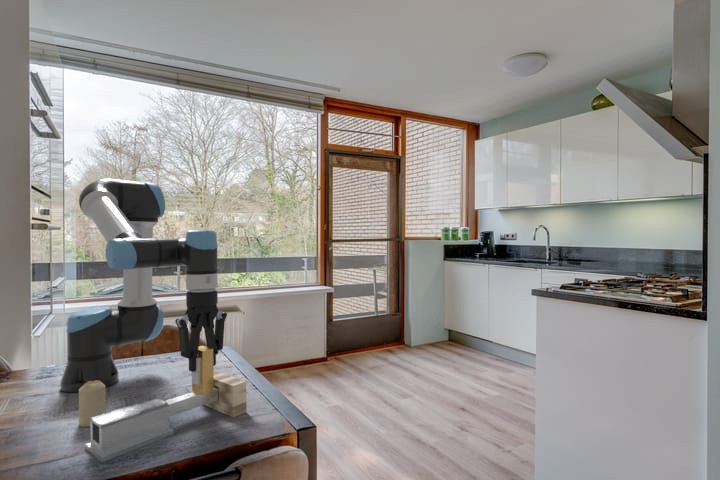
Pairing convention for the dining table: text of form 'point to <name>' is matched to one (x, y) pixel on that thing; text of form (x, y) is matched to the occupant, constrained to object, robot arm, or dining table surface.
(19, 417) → the dining table surface
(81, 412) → the candle
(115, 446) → the sleeve
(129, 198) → the robot arm
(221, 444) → the dining table surface
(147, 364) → the dining table surface
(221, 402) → the socket block
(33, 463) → the dining table surface
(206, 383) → the tube
